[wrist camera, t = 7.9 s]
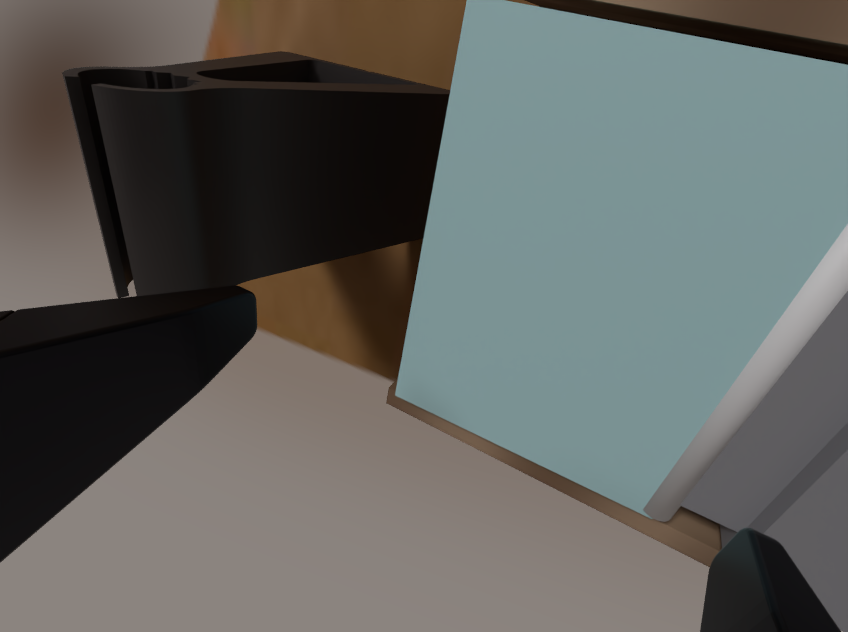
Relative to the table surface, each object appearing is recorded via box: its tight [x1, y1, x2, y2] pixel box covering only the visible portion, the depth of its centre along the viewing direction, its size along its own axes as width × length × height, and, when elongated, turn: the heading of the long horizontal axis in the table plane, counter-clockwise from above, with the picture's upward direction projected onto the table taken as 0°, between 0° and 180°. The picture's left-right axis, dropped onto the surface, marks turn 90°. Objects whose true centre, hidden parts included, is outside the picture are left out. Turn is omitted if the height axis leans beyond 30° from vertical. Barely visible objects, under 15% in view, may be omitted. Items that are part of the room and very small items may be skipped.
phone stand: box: [62, 52, 450, 298], centre depth 17 cm, size 9×6×12 cm, turn 78°
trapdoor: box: [395, 0, 848, 632], centre depth 12 cm, size 14×12×3 cm
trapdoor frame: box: [387, 0, 848, 567], centre depth 15 cm, size 12×14×7 cm
